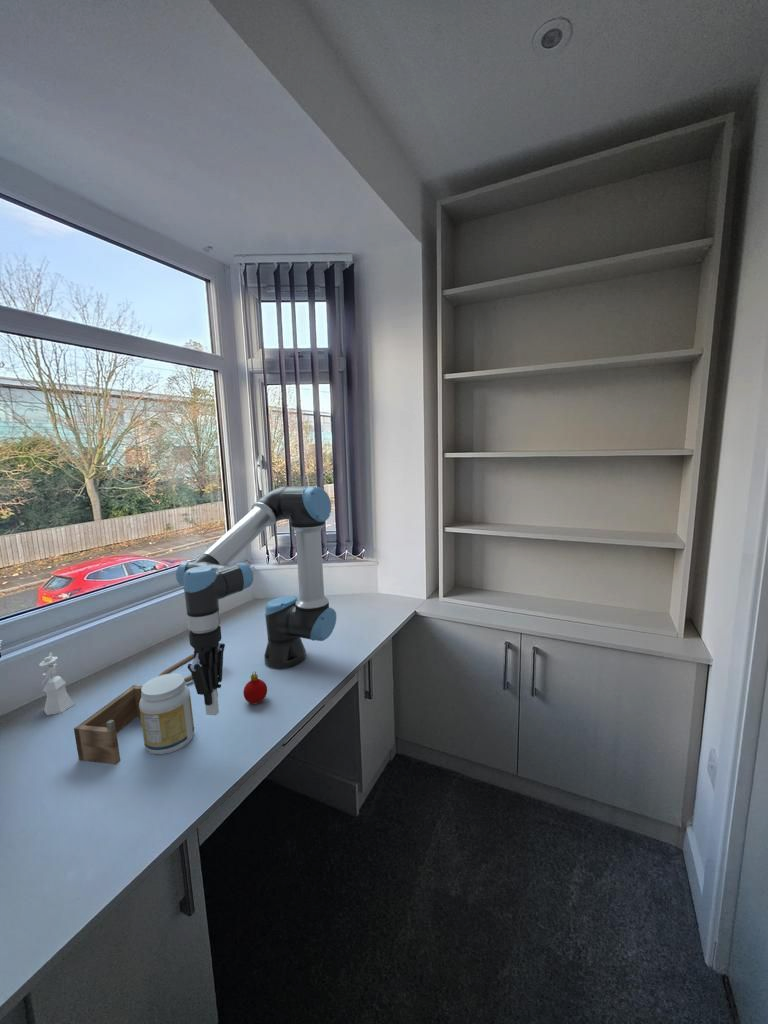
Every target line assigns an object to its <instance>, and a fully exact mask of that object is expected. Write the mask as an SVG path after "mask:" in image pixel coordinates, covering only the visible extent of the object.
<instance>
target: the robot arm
mask: <svg viewBox="0 0 768 1024" xmlns="http://www.w3.org/2000/svg"><path fill="white" fill-rule="evenodd" d="M331 512H332V503H331V498H330V496H329V494H328V493H327V492H326V490H325V489H323V488H322V487H320V486H312V485H305V486H303V485H302V486H297V485H295V486H294V485H293V486H291V485H283V486H280V487H277V488H274V489H273V490H271V491H269V492H268V493H266V494H264V495H263V496H261V497H260V498H259V499H258V500H257V501H255V502H253V504H252V505H251V508H250V511H248V513H246V514H245V515H244V516H243V517H242V518H240V519H239V521H237V522H236V523H235V524H234V525H232V527H230V529H228V530H227V531H226V532H225V533H224V534H223V535H221V536H220V538H218V540H216V541H214V543H213V544H212V545H210V547H208V548H207V549H206V550H205V551H204V552H203V553H202V554H200V556H198V557H197V558H196V559H195V560H186V561H183V562H182V563H180V564H179V565H178V567H177V568H176V572H175V578H176V581H177V583H178V584H179V585H180V586H182V587H183V590H184V591H183V592H184V600H185V608H186V609H185V610H186V615H187V627H188V630H189V631H188V639H189V645H190V646H191V647H192V648H193V654H194V658H193V661H192V662H191V663H188V664H187V669H188V671H189V672H190V673H191V675H192V677H193V680H192V682H193V683H194V687H195V691H196V693H197V695H200V696H201V695H202V696H203V700H204V705H205V714H206V716H215V717H216V716H217V715H219V713H220V710H219V698H218V697H219V693H218V689H221V687H222V684H220V683H221V682H222V681H223V670H224V669H223V668H224V667H223V665H224V651H225V647H226V644H225V643H223V642H222V643H220V641H222V628H221V616H220V615H221V614H220V606H219V605H220V604H219V603H220V602H219V601H220V600H221V599H222V600H223V599H224V598H227V597H229V596H231V595H233V594H234V595H235V594H236V593H239V592H243V591H244V590H245V589H248V588H249V587H251V586H252V584H253V582H254V571H253V568H251V566H250V565H249V564H248V563H245V562H238V563H237V562H235V563H232V561H234V560H235V559H236V558H237V557H238V556H239V555H240V554H241V553H242V552H243V551H244V550H246V548H247V547H248V546H249V545H250V544H251V543H252V542H253V541H254V540H255V539H256V538H257V537H258V536H259V535H260V534H261V533H262V532H263V531H264V530H265V529H266V528H267V527H272V526H274V525H275V524H276V523H277V522H279V521H282V520H289V521H290V528H291V529H293V531H294V532H295V544H296V559H297V560H296V561H297V577H298V578H297V579H298V593H299V596H298V597H299V598H298V597H297V596H294V595H285V596H281V597H277V598H274V599H272V600H269V601H268V602H267V603H266V605H265V614H264V617H265V622H266V623H265V624H266V635H267V644H266V646H265V647H266V648H265V652H264V656H263V659H264V664H265V665H266V667H269V668H272V669H278V670H280V669H289V668H293V667H295V666H299V665H300V664H301V663H302V662H304V660H306V658H307V652H306V647H305V646H304V643H303V641H302V639H306V640H311V641H319V642H324V641H326V640H327V639H329V637H330V636H331V635H332V633H333V631H334V629H335V626H336V623H337V612H336V611H335V609H334V608H332V607H330V600H329V598H327V597H326V596H325V587H324V568H323V567H324V566H323V548H322V529H323V528H324V527H325V526H326V521H327V520H328V519H329V518H330V516H331V514H330V513H331ZM230 563H232V564H230ZM229 564H230V565H229Z"/></svg>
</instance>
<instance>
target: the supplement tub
mask: <svg viewBox="0 0 768 1024" xmlns="http://www.w3.org/2000/svg"><path fill="white" fill-rule="evenodd" d="M184 678H185V676H184V675H183V674H180V673H168V674H165V675H161V676H159V675H158V676H155V677H153V678H151V679H149V680H147V682H145V683H144V684H143V685H142V686H143V687H142V689H141V692H142V693H141V697H142V698H141V699H140V702H139V708H140V715H141V716H140V721H141V727H142V735H143V742H144V747H145V749H146V751H147V752H148V753H150V754H153V755H164V754H165V755H167V754H171V753H174V752H175V751H178V750H180V749H181V748H184V747H185V746H186V745H187V744H188V743H189V742H190V741H191V740H192V739H193V737H194V733H195V726H194V725H195V723H194V716H193V715H194V714H193V708H192V699H191V691H190V688H189V686H188V685H187V684H186V683H185V680H184Z"/></svg>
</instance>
